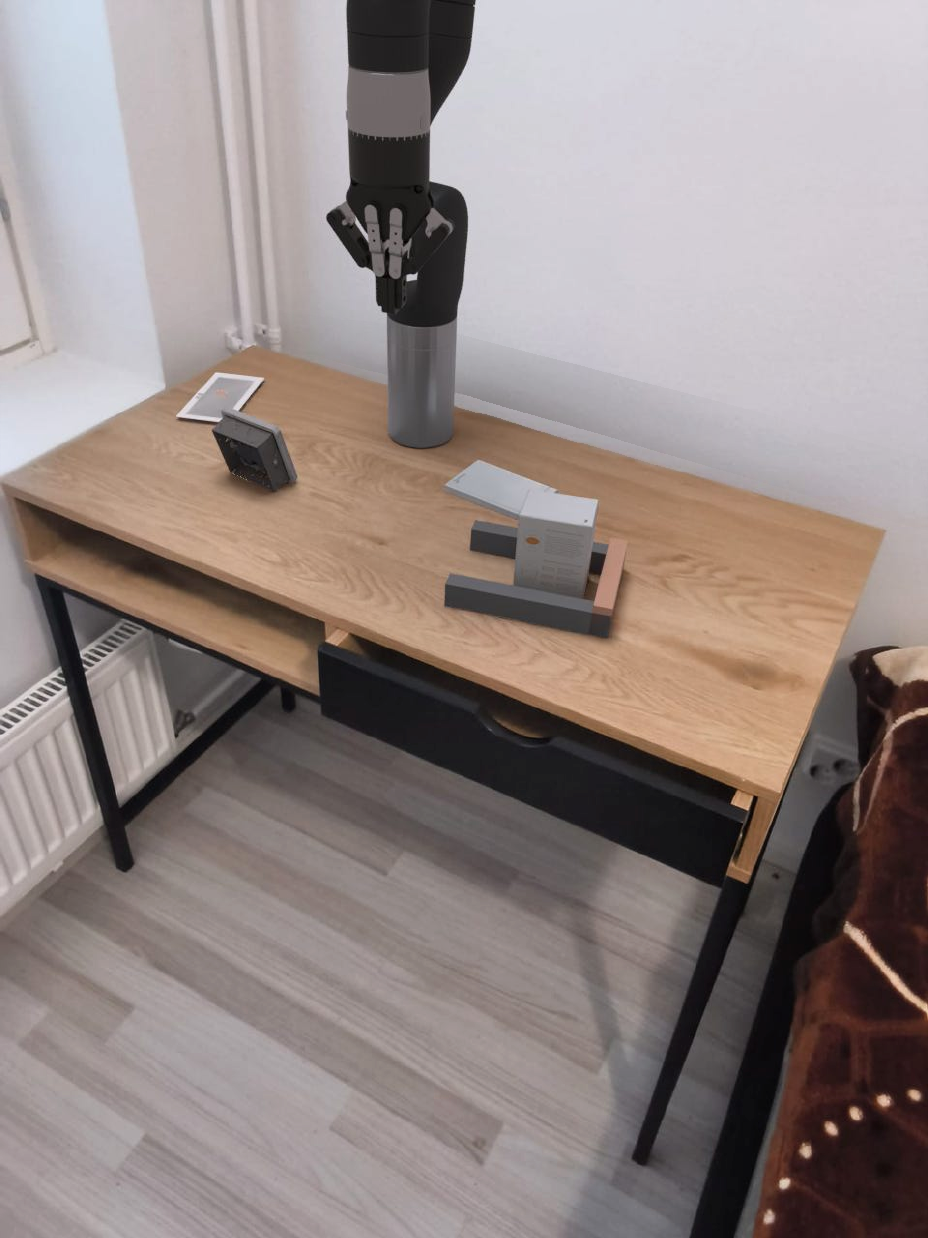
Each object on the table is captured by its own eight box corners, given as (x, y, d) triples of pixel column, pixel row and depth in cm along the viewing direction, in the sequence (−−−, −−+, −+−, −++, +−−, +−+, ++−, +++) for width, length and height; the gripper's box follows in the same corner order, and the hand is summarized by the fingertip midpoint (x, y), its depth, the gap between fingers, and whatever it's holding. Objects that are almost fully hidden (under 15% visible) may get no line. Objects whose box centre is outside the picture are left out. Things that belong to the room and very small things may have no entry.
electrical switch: (299, 482, 119) (289, 420, 113) (273, 502, 116) (260, 440, 109) (246, 460, 123) (232, 399, 116) (219, 479, 120) (203, 418, 113)
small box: (588, 576, 106) (601, 498, 99) (581, 605, 102) (594, 526, 95) (520, 564, 107) (528, 487, 100) (511, 592, 103) (518, 513, 96)
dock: (474, 540, 110) (475, 512, 108) (623, 568, 107) (628, 540, 105) (444, 605, 101) (445, 576, 98) (607, 638, 97) (612, 609, 95)
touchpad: (265, 384, 141) (263, 371, 140) (229, 430, 130) (227, 416, 128) (216, 378, 142) (214, 365, 141) (176, 423, 131) (174, 409, 129)
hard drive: (444, 483, 118) (526, 515, 113) (479, 458, 123) (559, 487, 118) (443, 494, 119) (525, 527, 114) (478, 468, 125) (558, 498, 119)
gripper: (469, 122, 85) (462, 306, 96) (335, 108, 87) (344, 289, 98) (447, 140, 79) (442, 333, 90) (305, 124, 82) (317, 315, 93)
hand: (391, 310), depth 94 cm, fingers closed
